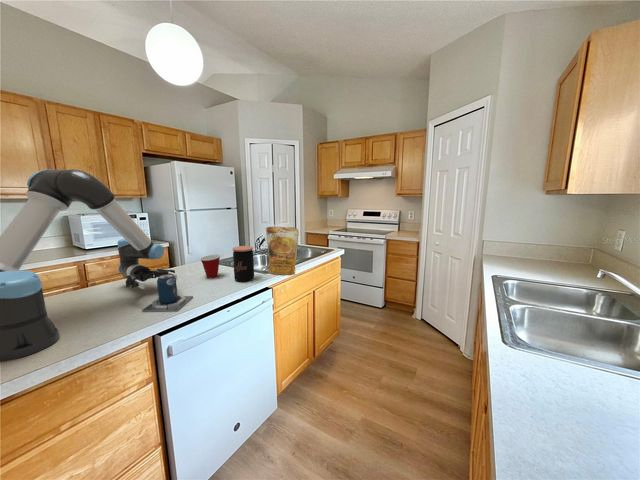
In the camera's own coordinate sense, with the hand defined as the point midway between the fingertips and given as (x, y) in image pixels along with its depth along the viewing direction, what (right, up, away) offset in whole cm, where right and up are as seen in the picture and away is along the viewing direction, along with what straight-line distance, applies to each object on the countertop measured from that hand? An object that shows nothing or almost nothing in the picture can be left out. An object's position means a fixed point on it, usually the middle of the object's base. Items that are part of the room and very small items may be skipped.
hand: (160, 281), depth 112 cm
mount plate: (+5, -10, -2) cm, 11 cm away
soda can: (+5, -9, -2) cm, 11 cm away
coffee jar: (+28, -4, +30) cm, 42 cm away
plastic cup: (+8, -3, +35) cm, 36 cm away
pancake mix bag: (+48, -2, +41) cm, 63 cm away
